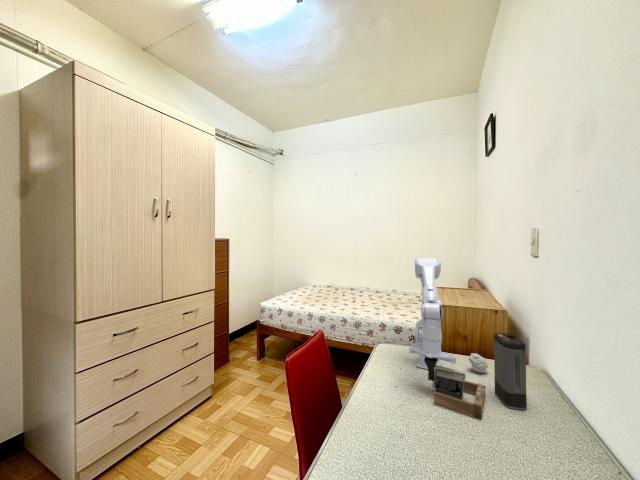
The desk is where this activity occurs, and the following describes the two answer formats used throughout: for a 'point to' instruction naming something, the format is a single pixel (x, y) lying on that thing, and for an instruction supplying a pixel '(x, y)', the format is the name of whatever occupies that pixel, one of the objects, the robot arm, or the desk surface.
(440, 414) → the desk surface
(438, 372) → the electrical switch
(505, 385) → the electronic device
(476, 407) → the socket dock
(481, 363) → the grey rounded carved piece
